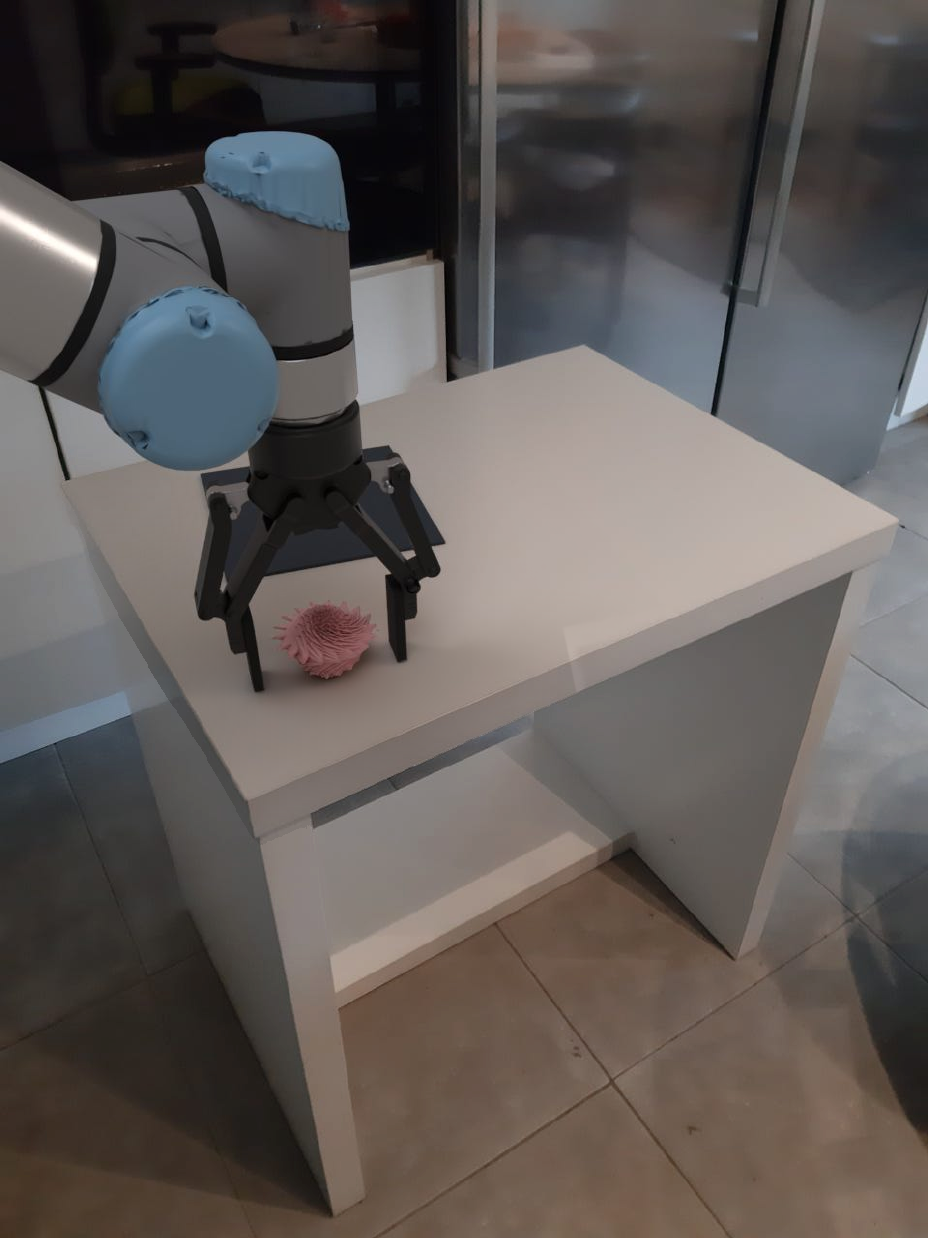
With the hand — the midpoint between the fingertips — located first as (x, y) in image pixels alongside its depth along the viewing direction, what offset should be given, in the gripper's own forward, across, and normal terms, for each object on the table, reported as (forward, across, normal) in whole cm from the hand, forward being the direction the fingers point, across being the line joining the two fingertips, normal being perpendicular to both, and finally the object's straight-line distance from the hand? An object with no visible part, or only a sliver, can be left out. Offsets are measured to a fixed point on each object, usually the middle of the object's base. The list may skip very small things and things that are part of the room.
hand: (328, 664), depth 76 cm
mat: (0, -4, -24) cm, 24 cm away
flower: (0, 0, 0) cm, 0 cm away
